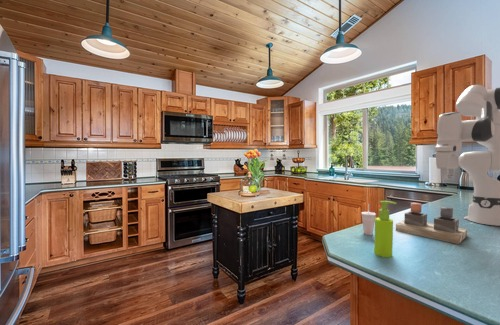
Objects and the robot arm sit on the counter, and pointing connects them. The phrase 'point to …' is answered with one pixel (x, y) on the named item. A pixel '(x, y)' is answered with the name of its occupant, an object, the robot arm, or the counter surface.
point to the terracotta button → (416, 207)
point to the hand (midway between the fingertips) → (447, 178)
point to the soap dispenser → (384, 232)
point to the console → (432, 227)
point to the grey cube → (446, 212)
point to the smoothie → (368, 221)
